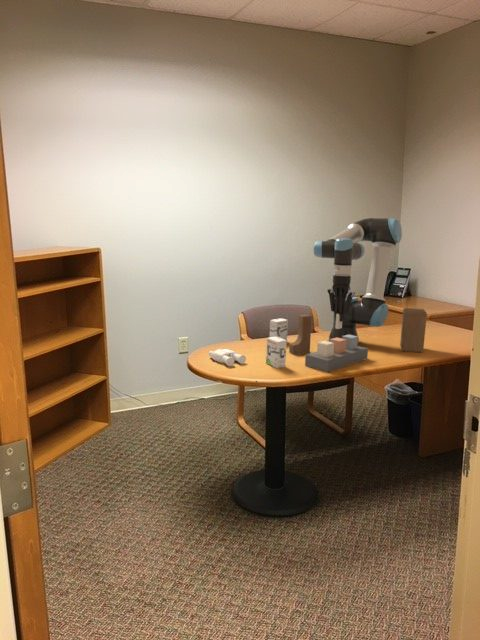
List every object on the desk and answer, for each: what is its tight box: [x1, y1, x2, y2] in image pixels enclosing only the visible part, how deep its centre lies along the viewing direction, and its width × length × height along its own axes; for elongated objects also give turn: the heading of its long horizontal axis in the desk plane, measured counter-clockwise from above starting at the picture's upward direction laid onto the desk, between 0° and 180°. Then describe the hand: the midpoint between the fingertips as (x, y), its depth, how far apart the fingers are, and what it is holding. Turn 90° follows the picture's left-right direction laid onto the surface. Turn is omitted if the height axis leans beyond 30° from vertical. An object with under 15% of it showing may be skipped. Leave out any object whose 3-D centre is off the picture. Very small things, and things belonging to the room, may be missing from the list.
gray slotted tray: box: [304, 345, 369, 373], centre depth 227 cm, size 12×30×5 cm, turn 133°
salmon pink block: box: [330, 338, 346, 354], centre depth 226 cm, size 5×5×7 cm
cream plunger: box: [316, 340, 334, 358], centre depth 220 cm, size 5×5×7 cm
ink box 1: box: [269, 317, 289, 342], centre depth 260 cm, size 9×5×12 cm, turn 131°
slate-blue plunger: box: [342, 335, 359, 350], centre depth 232 cm, size 5×5×7 cm
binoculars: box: [208, 348, 247, 367], centre depth 227 cm, size 10×16×5 cm, turn 37°
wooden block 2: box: [399, 307, 428, 353], centre depth 249 cm, size 10×10×20 cm
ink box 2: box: [265, 336, 288, 369], centre depth 221 cm, size 9×5×12 cm, turn 32°
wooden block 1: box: [288, 314, 312, 356], centre depth 240 cm, size 9×4×18 cm, turn 112°
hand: (338, 328), depth 224 cm, fingers closed
